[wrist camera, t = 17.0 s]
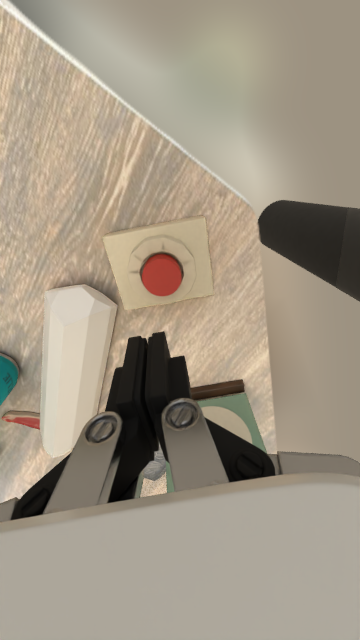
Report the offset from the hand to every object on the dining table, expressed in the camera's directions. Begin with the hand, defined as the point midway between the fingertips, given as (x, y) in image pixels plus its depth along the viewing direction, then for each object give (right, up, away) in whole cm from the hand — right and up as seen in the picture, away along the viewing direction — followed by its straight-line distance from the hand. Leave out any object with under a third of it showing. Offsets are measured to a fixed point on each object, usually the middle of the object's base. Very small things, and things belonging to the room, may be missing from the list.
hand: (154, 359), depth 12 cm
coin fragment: (-3, -23, +32) cm, 40 cm away
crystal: (-12, -3, +21) cm, 24 cm away
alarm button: (0, +7, +12) cm, 14 cm away
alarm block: (-1, +8, +15) cm, 17 cm away
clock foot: (+5, -9, +25) cm, 27 cm away
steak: (-21, -15, +26) cm, 37 cm away
